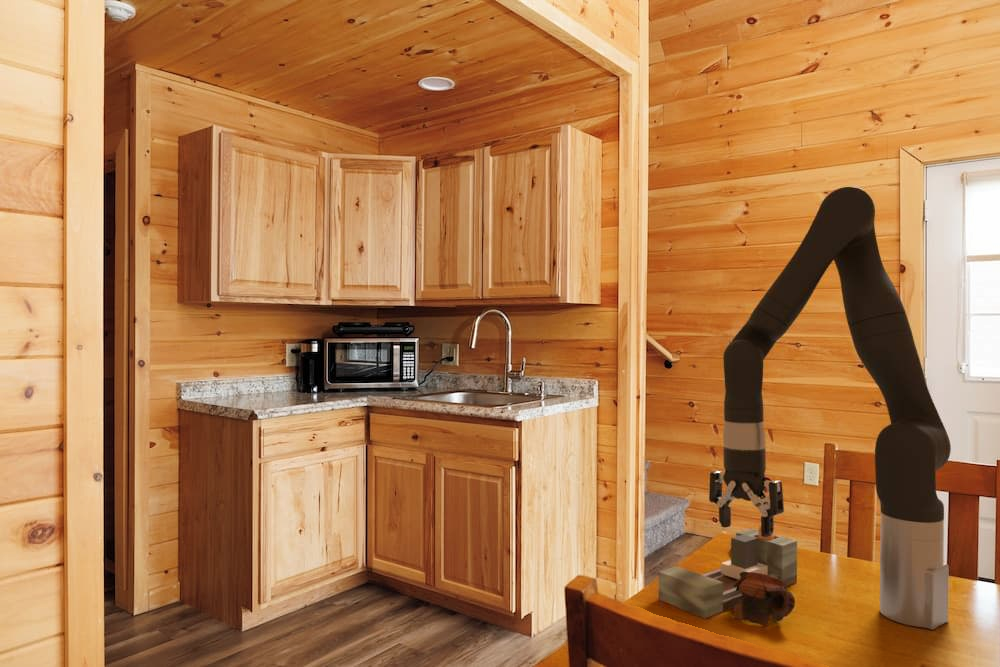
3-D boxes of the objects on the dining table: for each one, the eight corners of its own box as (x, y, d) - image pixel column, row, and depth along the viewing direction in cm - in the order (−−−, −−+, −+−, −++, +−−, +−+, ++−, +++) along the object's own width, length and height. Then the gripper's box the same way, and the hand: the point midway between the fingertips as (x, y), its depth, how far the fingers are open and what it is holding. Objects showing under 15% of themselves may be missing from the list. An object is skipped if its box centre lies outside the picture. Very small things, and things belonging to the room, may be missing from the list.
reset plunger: (776, 557, 134) (776, 527, 134) (768, 560, 132) (768, 529, 132) (763, 553, 136) (763, 523, 136) (755, 556, 135) (755, 526, 135)
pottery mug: (716, 616, 118) (724, 567, 121) (755, 631, 121) (761, 584, 124) (774, 623, 108) (780, 570, 111) (814, 640, 111) (819, 588, 114)
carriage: (767, 576, 130) (767, 539, 129) (748, 583, 126) (748, 545, 126) (739, 567, 134) (740, 531, 134) (720, 573, 131) (721, 536, 131)
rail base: (796, 582, 132) (797, 540, 132) (704, 618, 115) (704, 570, 115) (750, 567, 140) (751, 528, 140) (658, 599, 123) (658, 554, 123)
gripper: (790, 447, 126) (791, 535, 126) (723, 439, 138) (724, 520, 137) (767, 451, 122) (769, 543, 121) (700, 443, 133) (701, 527, 133)
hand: (745, 531), depth 129 cm, fingers open, 8 cm apart
